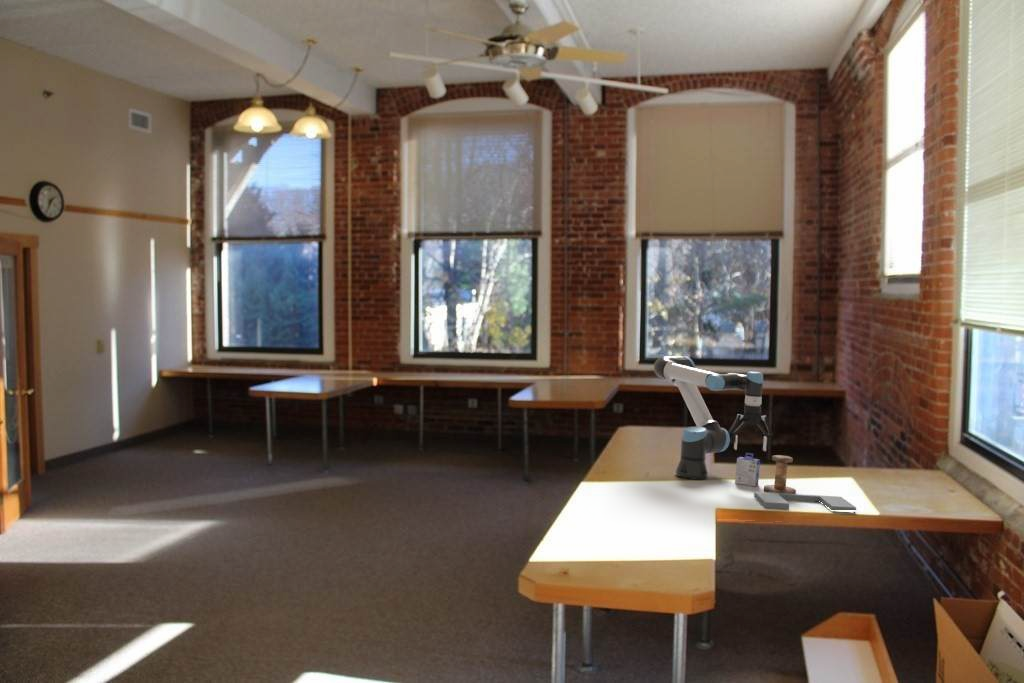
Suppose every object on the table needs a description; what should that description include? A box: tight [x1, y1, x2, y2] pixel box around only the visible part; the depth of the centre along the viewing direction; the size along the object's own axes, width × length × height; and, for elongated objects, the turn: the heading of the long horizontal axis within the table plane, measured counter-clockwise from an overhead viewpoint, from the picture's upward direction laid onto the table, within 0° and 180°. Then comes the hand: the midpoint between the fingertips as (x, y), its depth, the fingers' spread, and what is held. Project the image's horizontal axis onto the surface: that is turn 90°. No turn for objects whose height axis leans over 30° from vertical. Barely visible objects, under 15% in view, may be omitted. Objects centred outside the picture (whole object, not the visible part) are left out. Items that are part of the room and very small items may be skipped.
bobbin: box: [763, 454, 797, 494], centre depth 396 cm, size 14×14×16 cm
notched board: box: [753, 491, 857, 511], centre depth 375 cm, size 38×18×2 cm, turn 89°
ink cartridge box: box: [734, 452, 761, 487], centre depth 409 cm, size 10×6×14 cm, turn 60°
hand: (749, 449), depth 408 cm, fingers open, 13 cm apart
